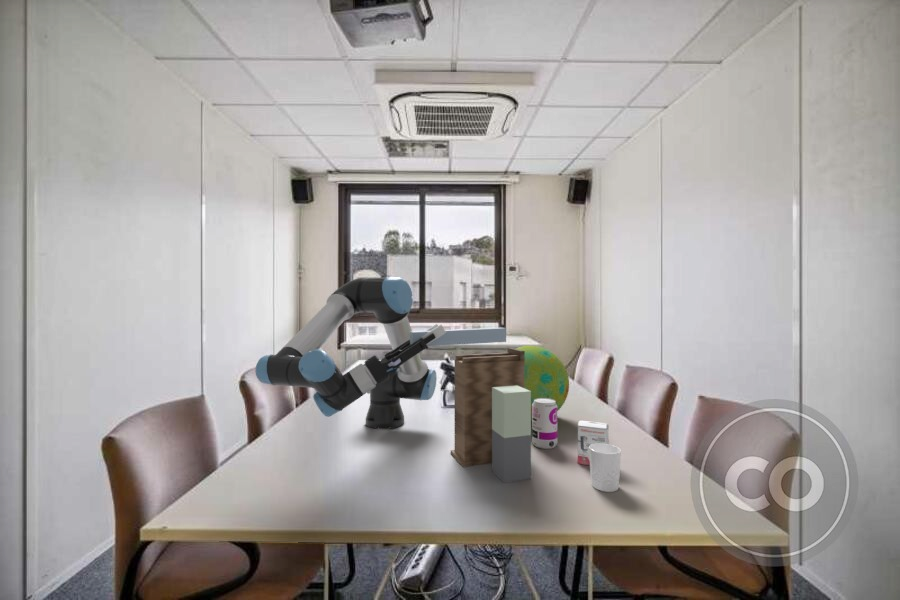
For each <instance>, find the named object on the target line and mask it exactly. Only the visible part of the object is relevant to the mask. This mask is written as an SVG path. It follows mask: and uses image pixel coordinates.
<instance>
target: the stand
mask: <svg viewBox="0 0 900 600" xmlns="http://www.w3.org/2000/svg"><path fill="white" fill-rule="evenodd" d="M506 350H507V352H497V353H496V352H494V353H493V352H492V353H491V352H490V353H476V354H475V353H473V354H455V355H454V357H455V359H454V449H451V450H450V454H451V455H452V457H453V458H454V459H455V460H456V461H457V462H458V464H459V465H460V464H461V467H470V466H479V465H486V464H490V463H491V464H492V387H502V386H515V385H517V386H520V387H522V388H524V389H525V351H523V350H519V349H516V348H515V347H507V349H506ZM478 464H479V465H478ZM469 465H470V466H469Z"/></svg>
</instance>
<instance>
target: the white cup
mask: <svg viewBox="0 0 900 600" xmlns="http://www.w3.org/2000/svg"><path fill="white" fill-rule="evenodd" d="M621 456H622V449H621V448H620V447H618V446H616V445H613V444H610V443H608V444H604V443H595V444H591V445H590V446H589V458H590V465H589V471H590V485H591V487H593V488H594V489H596V490H598V491H601V492H604V493H605V492H606V493H613V492H616V491H619V489H620V488H619V487H620V478H621V475H620V474H621V462H622V461H621V460H622V459H621Z"/></svg>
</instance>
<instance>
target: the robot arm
mask: <svg viewBox="0 0 900 600" xmlns="http://www.w3.org/2000/svg"><path fill="white" fill-rule="evenodd" d="M412 306H413V292H412V288H411V286H410V284H409V283H408V281H406V280H405V279H404V278H402V277H395V276H386V277H357V278H355V279H352V280H350V281H348V282H345V284H343V285H341V286H339V288H337V289H336V290H335V291H333V293H331V294H330V295H329V296H328V297H327V299H326V304H325V305H324V306H322V308H321V309H319V311H318V312H316V314H315V315H314V316H312V318H311V319H310V320H309V321H308V322H307V323H306V324H305V325H304V326H303V327H302V328H301V329H300V330H299V331H298V332H297V333H296V334H295V335H294V336H293V337H292V338H291V339H290V340H289V341H288V342H287V343H286V344H285V345H284V346H282V348H281V349H280V350H278V352H277V353H276V354H267V355H264V356H261V357H260V358H259V359H258V361H257V363H256V366H255V376H256V378H257V379H258V381H259V382H260V383H263V384H266V385H271V386H283V387H297V388H298V387H299V388H311V389H314V391H315V392H314V394H313V396H312V397H313V401H314V402H315V405H316V406H317V408H318V409H319V410H320V412H321V413H322V415H323V416H325V417H327V418H328V417H329V418H330V417H332V416H333V415H335V414H337V413H338V412H339V413H340V412H341V411H343V410H344V409H345V408H347V407H348V406H350V405H351V404H353V403H354V402H355V401H357V400H358V399H360V398H361V397H363V396H364V395H365V394H368V395H369V407H368V410H367V413H366V417H365V425H366V427H369V428H372V429H378V430H381V429H393V428H399V427H401V426H402V425H404V423H405V415H404V411H403V409H402V405H401V399H403V400H404V399H406V400H415V401H429V400H431V399H432V397H433V396H434V395H435V391H436V386H437V380H438V379H437V372H436V370H435V369H432V368H431V369H430V368H429V367H428V364H427V363H426V361H424V360H423V359H422V358H421V355H420V353H421V352H422V351H424V350H427V349H429V346H427V345H428V344H430V343H431V342H433V341H434V340H436V339H438V338H439V337H441V336H442V335H444V334H445V333H446V332H445V330H446V329H444V327H443V325H442V324H438V323H435V324H433V325H432V326H430V327H429V328H428V329H426V330H425V331H430V332H428V333H427V334H425V335H424V336H422V338H420V339H419V340H418V341H416V342H414V343H413V344H411V345H410V331H413V330H412V326H411V324H410V321H409V317H408V315H409V314H410V310H411V309H412ZM359 313H360V314H361V313H365V314H366V313H367V314H369V313H373V314H374V317H375V319H376V321H377V322H378V323H379V324H382V325H383V328H384V330H385V333H386V335H387V339H388V340H389V344H390V347H391V349H392V350H390V351H389V352H386V353H385V354H384V357H383V358H382V359H381V360H380V359H379V358H378V356H377V355H376V354H375V355H373V356H371V357H369V358H368V359H366V360H365V361H364V363H359V364H358V365H356V366H355V367H354V368H352V369H350V370H349V371H347V372H346V373H344V374H343V373H342V372H341V371H340V368H339V367H338V366H337V364H336V362H335V361H334V360H333V358H332V357H330V356H329V355H328V353H327V352H326V351H325V350H322V349H321V348H322V346H323V345H324V344H325V343H326V342H327V341H328V339H330V337H331V336H332V335H333V334H334V333H335V331H336V330H337V329H338V328H339V327H340V326H342V324H343V322H344V321H347V320H350V319H352V317H353V316H354V315H356V314H359Z"/></svg>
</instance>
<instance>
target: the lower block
mask: <svg viewBox="0 0 900 600" xmlns="http://www.w3.org/2000/svg"><path fill="white" fill-rule="evenodd" d="M531 453H532V434H531V435H527V436H518V437H510V438H503V437H502V436H501V435H499V434H498V433H497V432H495V431H494V430H492V463H491V471H493V472H492V473H494V475H495V476H497V477H498V479H500V480H501V481H502V483H504V484H505V483H506V482H507V483H512V482H518V481H526V480H531V479H532V454H531Z"/></svg>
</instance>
